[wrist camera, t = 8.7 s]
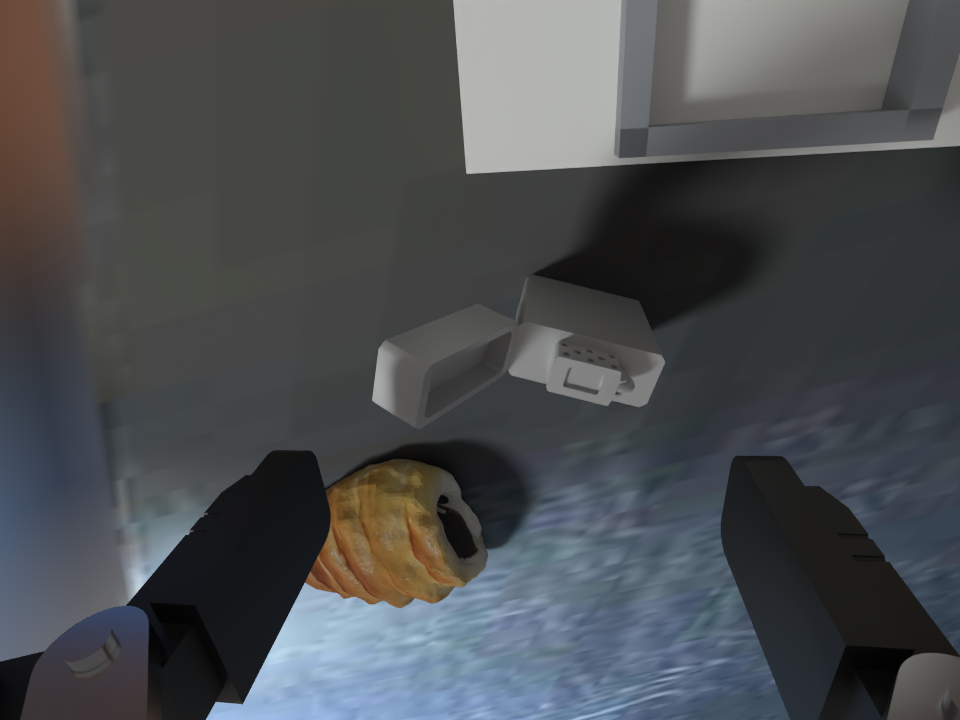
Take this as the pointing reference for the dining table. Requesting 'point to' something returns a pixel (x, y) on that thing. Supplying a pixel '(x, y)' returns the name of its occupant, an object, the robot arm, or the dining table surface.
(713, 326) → the dining table surface
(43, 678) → the robot arm
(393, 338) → the lighter
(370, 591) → the pastry
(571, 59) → the board
